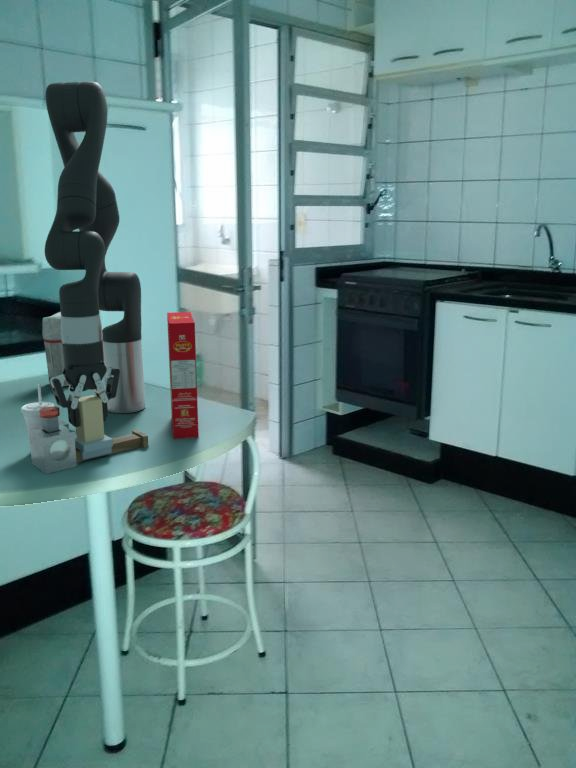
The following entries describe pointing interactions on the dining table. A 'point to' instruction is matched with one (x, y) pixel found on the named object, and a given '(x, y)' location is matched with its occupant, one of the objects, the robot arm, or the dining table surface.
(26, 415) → the smoothie
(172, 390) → the food packaging
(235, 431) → the dining table surface
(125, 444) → the rail
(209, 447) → the dining table surface
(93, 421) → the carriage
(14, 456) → the dining table surface
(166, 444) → the dining table surface
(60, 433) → the gauge cabinet
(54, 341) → the spray can
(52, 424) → the gauge button
